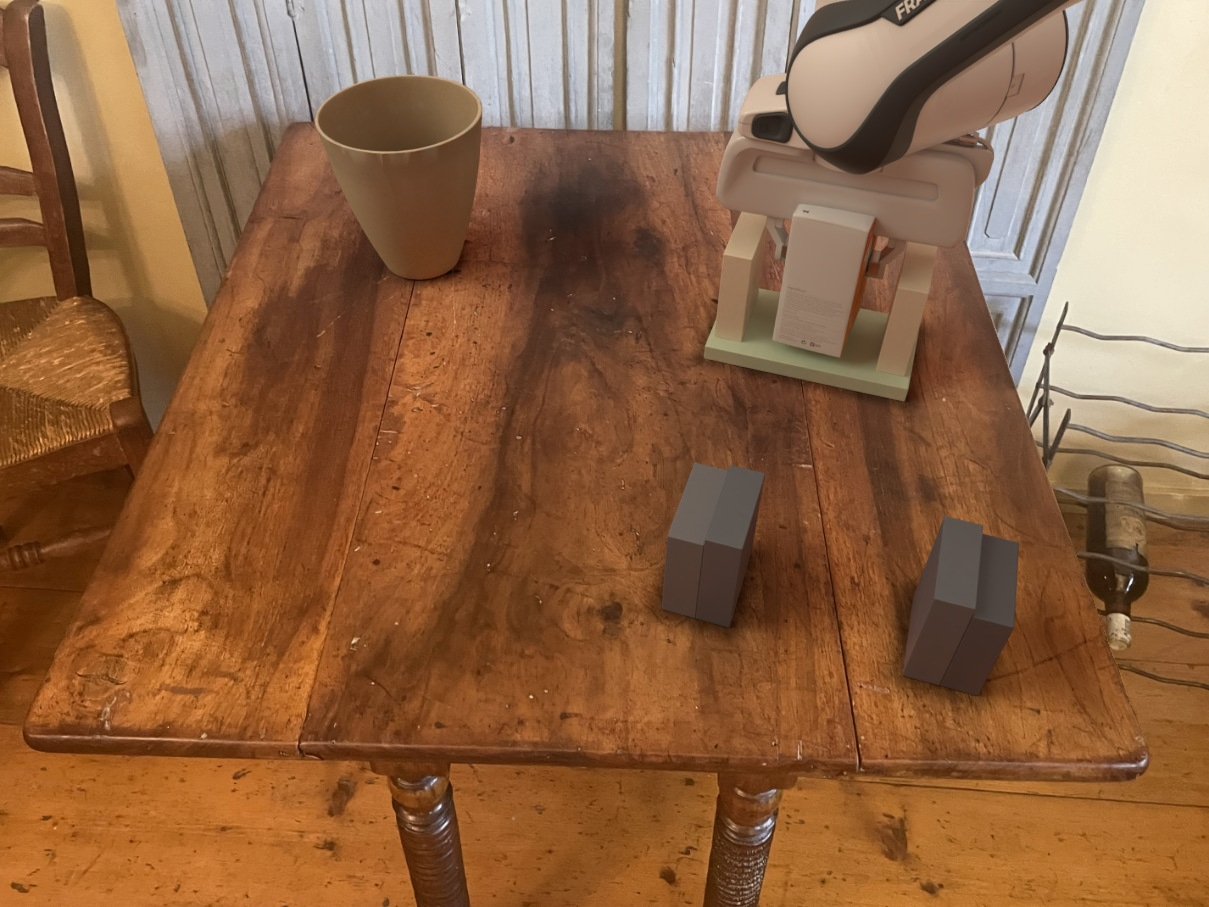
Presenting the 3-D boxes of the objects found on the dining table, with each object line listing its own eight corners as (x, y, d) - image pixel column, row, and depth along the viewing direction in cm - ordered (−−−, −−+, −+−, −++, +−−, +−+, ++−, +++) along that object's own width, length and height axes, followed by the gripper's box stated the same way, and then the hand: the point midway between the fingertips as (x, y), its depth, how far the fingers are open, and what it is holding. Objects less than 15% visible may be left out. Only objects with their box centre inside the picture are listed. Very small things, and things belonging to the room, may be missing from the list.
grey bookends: (984, 613, 70) (1023, 534, 64) (977, 696, 66) (1018, 620, 59) (686, 537, 75) (695, 456, 69) (661, 609, 71) (667, 529, 64)
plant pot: (524, 243, 102) (514, 96, 90) (436, 321, 93) (412, 170, 82) (410, 202, 107) (387, 59, 96) (317, 273, 98) (278, 124, 87)
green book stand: (917, 332, 92) (945, 237, 85) (904, 402, 86) (933, 305, 78) (729, 294, 96) (740, 200, 88) (703, 358, 90) (712, 262, 82)
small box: (841, 360, 85) (870, 232, 76) (770, 341, 87) (790, 214, 78) (862, 307, 91) (892, 181, 81) (795, 290, 92) (817, 165, 83)
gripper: (1003, 115, 74) (956, 267, 84) (737, 76, 79) (722, 225, 89) (999, 156, 70) (949, 311, 80) (718, 112, 74) (705, 264, 84)
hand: (828, 265), depth 84 cm, fingers closed on small box, 6 cm apart
